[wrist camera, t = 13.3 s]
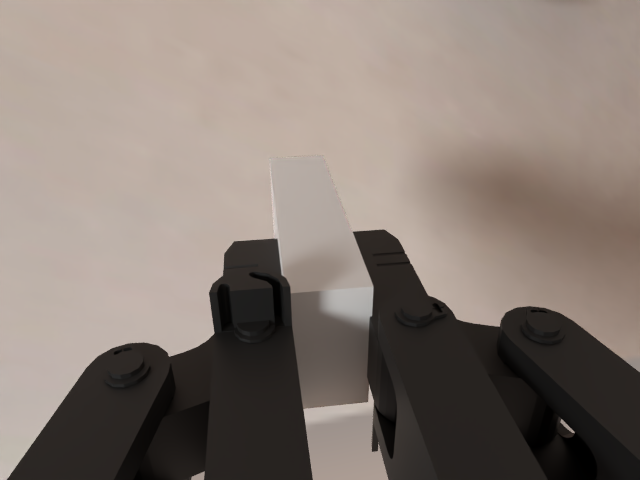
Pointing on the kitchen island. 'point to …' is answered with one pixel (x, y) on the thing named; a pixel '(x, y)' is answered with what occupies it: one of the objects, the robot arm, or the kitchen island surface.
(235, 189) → the kitchen island surface
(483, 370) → the robot arm
